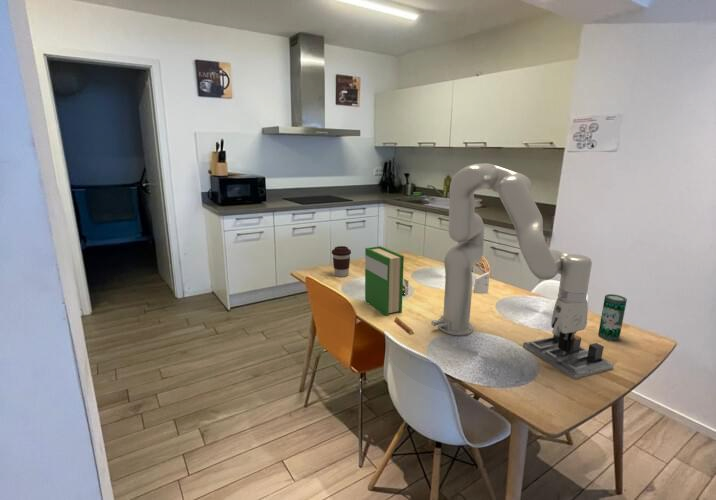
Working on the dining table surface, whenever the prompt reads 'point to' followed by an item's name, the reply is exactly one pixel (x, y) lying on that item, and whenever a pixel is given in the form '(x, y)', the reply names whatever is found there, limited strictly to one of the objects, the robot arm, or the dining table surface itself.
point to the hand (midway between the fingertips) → (563, 349)
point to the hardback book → (384, 279)
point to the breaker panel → (570, 357)
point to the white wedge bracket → (482, 283)
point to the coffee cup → (341, 261)
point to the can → (612, 317)
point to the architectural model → (405, 286)
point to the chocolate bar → (403, 326)
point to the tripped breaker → (575, 344)
